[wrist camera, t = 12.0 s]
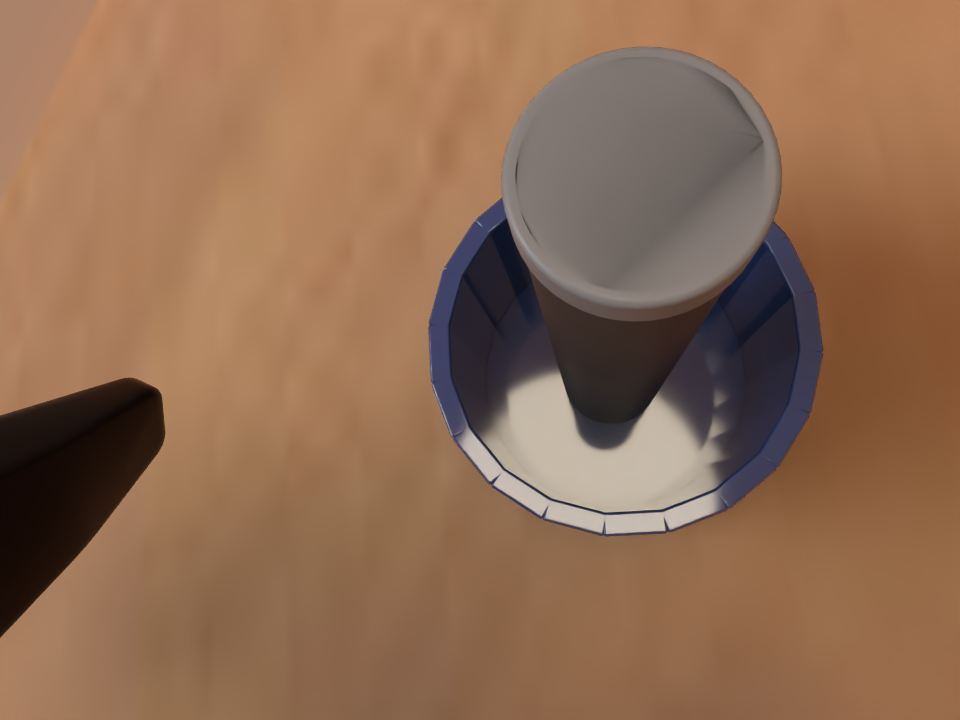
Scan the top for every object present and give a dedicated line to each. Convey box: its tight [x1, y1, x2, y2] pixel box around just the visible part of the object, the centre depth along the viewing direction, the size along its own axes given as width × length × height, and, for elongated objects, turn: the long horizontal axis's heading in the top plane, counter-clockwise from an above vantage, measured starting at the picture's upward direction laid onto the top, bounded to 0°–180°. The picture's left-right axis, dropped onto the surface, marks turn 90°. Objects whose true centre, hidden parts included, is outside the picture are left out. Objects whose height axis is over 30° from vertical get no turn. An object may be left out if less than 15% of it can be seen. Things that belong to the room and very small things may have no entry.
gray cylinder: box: [501, 47, 782, 424], centre depth 13 cm, size 2×2×12 cm
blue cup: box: [428, 198, 823, 536], centre depth 17 cm, size 7×7×6 cm
